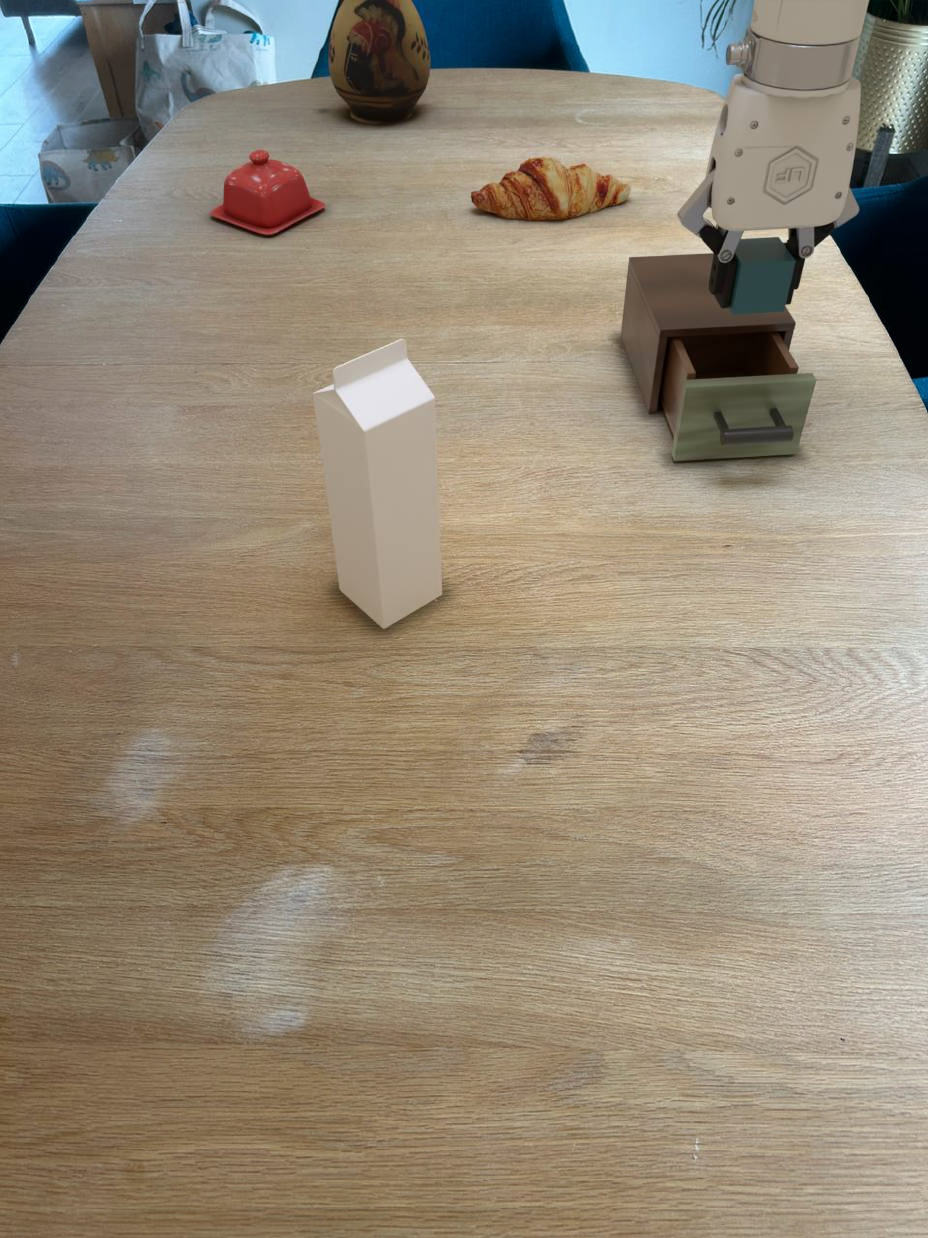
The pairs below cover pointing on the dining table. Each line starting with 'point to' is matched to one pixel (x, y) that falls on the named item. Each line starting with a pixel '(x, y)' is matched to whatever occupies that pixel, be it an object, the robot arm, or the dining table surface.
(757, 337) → the drawer
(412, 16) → the ceramic jug
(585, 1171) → the dining table surface
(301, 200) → the butter dish
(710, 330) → the cabinet
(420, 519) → the milk
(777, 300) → the block
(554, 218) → the croissant
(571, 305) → the dining table surface
